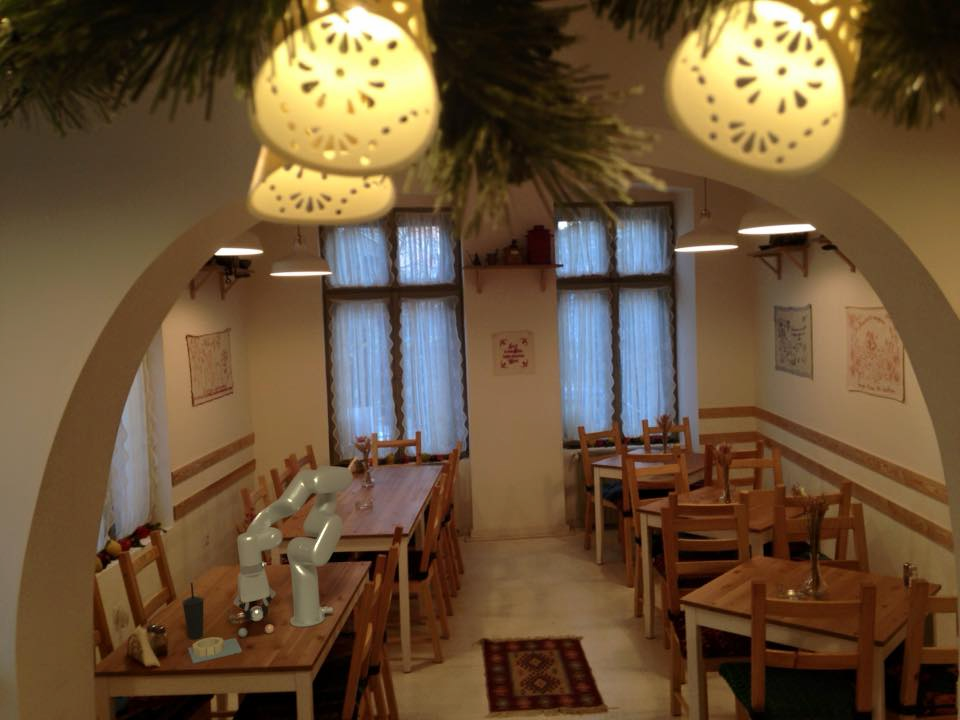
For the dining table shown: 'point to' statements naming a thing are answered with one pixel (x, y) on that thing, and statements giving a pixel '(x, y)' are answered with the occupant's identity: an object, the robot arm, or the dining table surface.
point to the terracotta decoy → (269, 628)
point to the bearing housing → (213, 648)
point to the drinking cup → (194, 615)
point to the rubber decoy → (242, 632)
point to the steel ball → (256, 613)
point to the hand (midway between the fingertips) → (257, 617)
